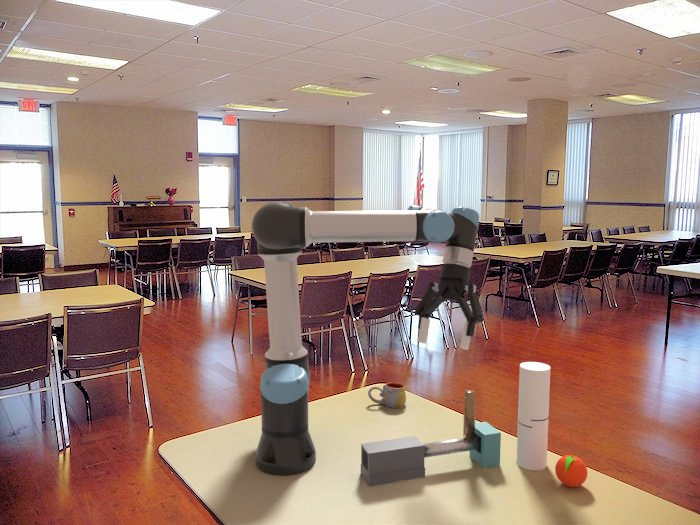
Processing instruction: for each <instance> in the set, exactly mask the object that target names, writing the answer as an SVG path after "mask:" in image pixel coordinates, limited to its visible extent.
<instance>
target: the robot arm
mask: <svg viewBox="0 0 700 525" xmlns="http://www.w3.org/2000/svg"><path fill="white" fill-rule="evenodd" d="M479 222H480V214H479V212H478V211H476V210H475V209H473V208H471V207H463V206H459V207H458V206H456V207H454V208H452V209H451V212H446V211H445V210H442V209H435V208H434V209H433V208H430V207H429V208H428V207H425V206H422V205H416V204H411V205H409V206H408V207H407V210H316V211H315V210H313V211H312V210H311V209H309V208H308V207H307V206H293V205H292V204H290V203H288V202H286V201H277V200H275V201H272V202H268V203H267V204H264V205H262V206H261V207H259V209H258V210H256V212H255V213H254V215H253V218H252V221H251V232H252V235H253V237H254V238H255V241H256V243H257V244H256V245H257V256H259V257H260V258H261V259H262V260H263V261H264V262H263V263H264V276H265V289H266V290H265V292H266V293H265V294H266V306H267V322H268V323H267V324H268V334H269V335H268V337H269V339H268V340H269V349H268V350H267V351H266V352H265V353H264V360H265V361H264V362H265V365H264V366H265V370H264V371H263V372H262V373H261V376H260V381H259V389H260V406H261V408H260V409H261V411H260V412H261V413H260V414H261V415H260V416H261V433H260V438H259V441H258V445H257V448H256V451H255V466H256V467H257V468H258V470H260V471H262V472H263V473H267V474H269V475H277V476H280V475H281V476H287V475H296V474H299V473H302V472H305V471H307V470H308V469H310V468H312V467H313V466H314V465H315V463H316V460H317V455H316V454H317V451H316V448H315V445H314V442H313V438H312V436H311V433H310V431H309V391H310V382H311V376H312V375H311V369H310V364H309V352H308V350H307V348H305V346H303V342H302V327H301V326H302V325H301V323H302V322H301V310H300V309H301V308H300V295H299V294H300V293H299V276H298V258H299V256H300V255H301V254H302V252H303V251H302V250H303V248H308V247H309V246H310V245H311V244H312V243H314V244H317V243H318V244H320V243H367V242H368V243H373V242H374V243H375V242H377V243H378V242H380V243H381V242H384V243H385V242H433V243H443V242H445V247H444V252H443V257H442V262H443V264H442V265H441V268H440V275H439V277H440V281H439V283H436V282H434V281H430V282H429V284H428V288H427V290H426V292H425V293H424V295H423V297H422V299H421V300H420V302H419V303H418V305H417V307H416V308H415V310H414V314H415V315H416V316H418V317H419V320H418V326H417V329H418V335H417V336H418V337H417V342H418V343H422V344H425V345H426V344H427V338H428V334H429V328H430V323H431V322H430V321H431V319H430V318H429V317H430V316H431V315H433V313H434V312H435V311H436V310H437V309H438V308H439V307H440V306H441V305H442V303H445V302H452V301H453V302H457V303H458V306H459V308H460V309H461V311H462V314H463V316H464V318H465V319H466V320H465V321H464V322H463V328H462V331H461V332H462V333H461V340H460V344H459V349H462V350H465V351H466V350H467V351H469V348H470V342H471V338H472V337H474V334H475V329H476V325H477V324H479V323H483V322H484V316H483V312H482V309H481V305H480V302H479V297H478V288H479V287H478V286H477V285H475V284H473V283H469V281H470V277H471V275H470V274H471V268H472V264H473V257H474V252H475V251H474V250H475V246H476V241H477V236H478V231H479V225H480V224H479ZM468 283H469V284H468ZM465 293H467V295H468V300H469V303H468V301H467V298H466V296H465Z"/></svg>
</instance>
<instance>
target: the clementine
mask: <svg viewBox="0 0 700 525" xmlns="http://www.w3.org/2000/svg"><path fill="white" fill-rule="evenodd" d="M554 472H555V475H556V477H557V479H558V480H559V481H560V483H562V484H563V485H564V486H567V487H569V488H577V487H580V486H582V484H584V483H585V482H586V480H587V478H588V468H587V466H586V463H585V462H584V461H583V460H582V459H581V458H580V457H578V456H576V455H574V454H573V455H572V454H566V455H564V456H563V455H562V456H561V457H560V458H559V459H558V460H557V462H556V463H555V467H554Z"/></svg>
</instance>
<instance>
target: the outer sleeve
mask: <svg viewBox="0 0 700 525" xmlns="http://www.w3.org/2000/svg"><path fill="white" fill-rule="evenodd" d="M424 444H425V443H423V442H422V441H421V440H420V439H419V438H418V437H417V436H416V435H415V436H413V435H412V436H407V437H406V436H405V437H400V438H392V439H385V440H379V441H371V442H365V443H364V442H363V443H361V444H360V446H361V447H360V454H361V455H360V456H361V457H360V474H361V476H362V477H363V479H364V481H365V482H366V483H367V485H368V487H373V486H379V485H385V484H391V483H398V482H402V481H409V480H415V479H422V478H425V477H426V467H425V458H424V451H425V445H424Z"/></svg>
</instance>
